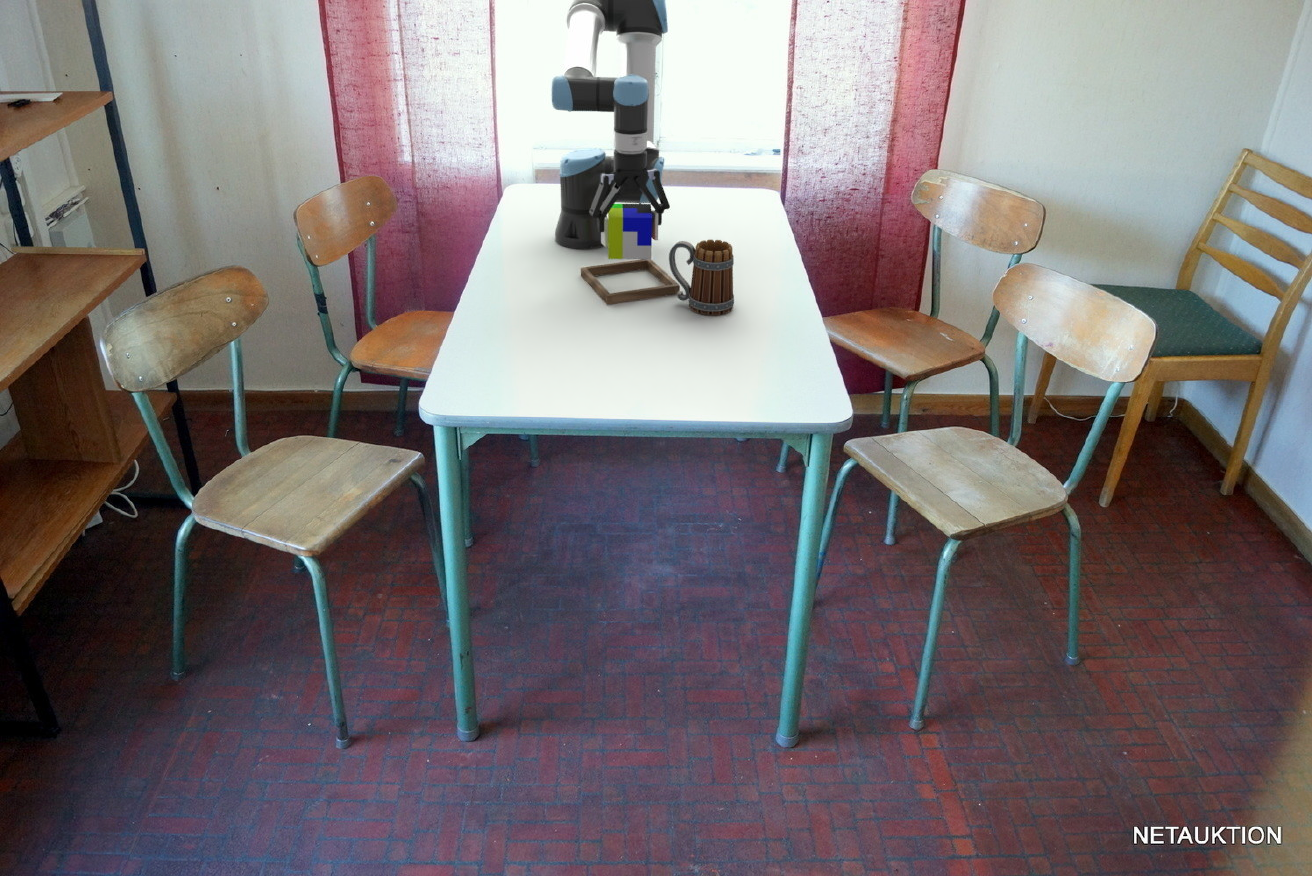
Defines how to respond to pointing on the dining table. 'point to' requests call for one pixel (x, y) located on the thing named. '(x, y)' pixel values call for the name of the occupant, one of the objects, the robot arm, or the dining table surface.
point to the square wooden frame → (626, 296)
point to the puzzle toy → (630, 231)
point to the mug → (707, 277)
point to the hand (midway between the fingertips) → (629, 241)
